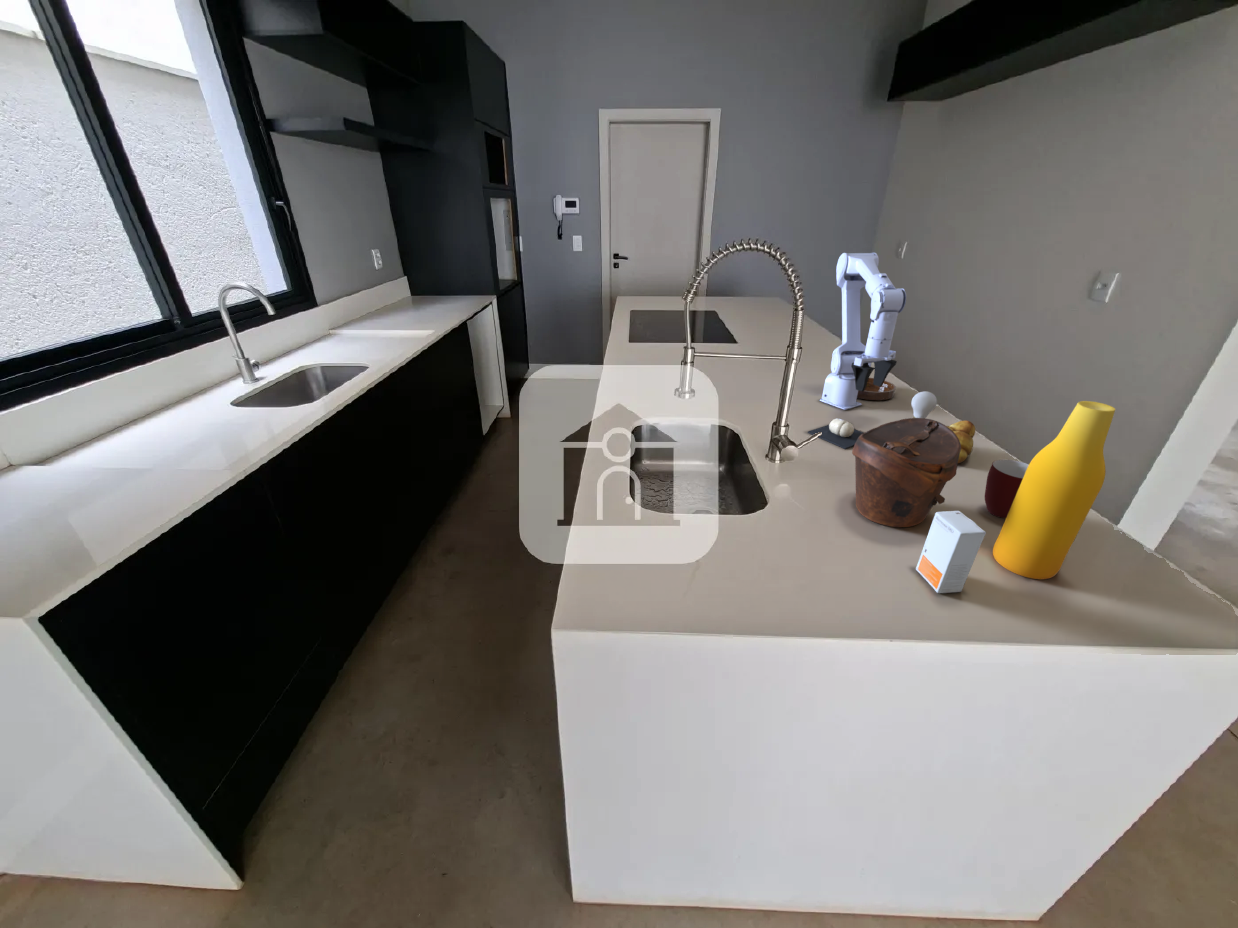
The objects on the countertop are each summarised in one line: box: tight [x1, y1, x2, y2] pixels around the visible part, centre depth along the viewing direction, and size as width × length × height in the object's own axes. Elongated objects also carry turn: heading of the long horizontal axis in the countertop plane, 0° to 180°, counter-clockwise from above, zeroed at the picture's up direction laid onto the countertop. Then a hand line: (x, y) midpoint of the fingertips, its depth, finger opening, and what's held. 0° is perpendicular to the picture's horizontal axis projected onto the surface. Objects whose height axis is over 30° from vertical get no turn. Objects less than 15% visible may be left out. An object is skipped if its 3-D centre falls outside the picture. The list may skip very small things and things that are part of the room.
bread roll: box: [946, 419, 976, 464], centre depth 120 cm, size 13×10×8 cm
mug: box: [984, 459, 1030, 519], centre depth 96 cm, size 10×8×10 cm
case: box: [851, 417, 961, 528], centre depth 96 cm, size 18×20×18 cm
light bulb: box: [910, 390, 938, 419], centre depth 135 cm, size 6×6×10 cm
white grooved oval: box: [828, 418, 855, 437], centre depth 131 cm, size 7×4×4 cm, turn 31°
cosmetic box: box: [915, 510, 987, 594], centre depth 79 cm, size 6×4×12 cm
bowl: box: [857, 377, 897, 401], centre depth 160 cm, size 15×15×3 cm
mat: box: [807, 424, 864, 450], centre depth 132 cm, size 12×12×1 cm
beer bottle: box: [992, 400, 1116, 580], centre depth 79 cm, size 9×9×29 cm
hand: (868, 387), depth 135 cm, fingers open, 7 cm apart
